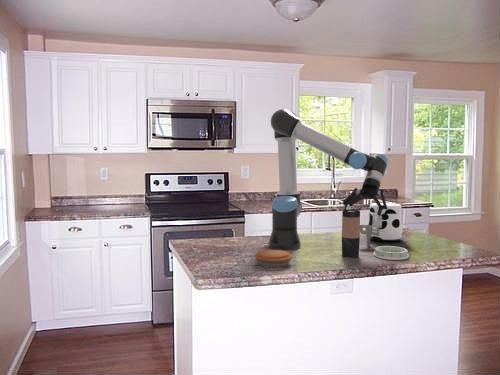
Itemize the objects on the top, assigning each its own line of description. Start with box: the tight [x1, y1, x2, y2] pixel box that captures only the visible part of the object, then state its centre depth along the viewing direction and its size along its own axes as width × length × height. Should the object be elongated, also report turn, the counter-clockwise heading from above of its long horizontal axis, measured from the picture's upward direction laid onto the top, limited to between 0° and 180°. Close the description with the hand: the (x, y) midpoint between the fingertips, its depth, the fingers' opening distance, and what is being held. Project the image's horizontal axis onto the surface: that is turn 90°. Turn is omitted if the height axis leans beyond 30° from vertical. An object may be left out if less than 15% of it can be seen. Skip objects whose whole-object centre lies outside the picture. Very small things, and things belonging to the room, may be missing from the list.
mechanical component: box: [360, 224, 381, 248], centre depth 220 cm, size 3×10×10 cm, turn 79°
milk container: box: [367, 202, 404, 242], centre depth 234 cm, size 17×17×18 cm
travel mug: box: [341, 208, 361, 259], centre depth 200 cm, size 8×8×20 cm
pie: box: [254, 249, 294, 268], centre depth 189 cm, size 15×16×5 cm
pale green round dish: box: [372, 245, 410, 261], centre depth 202 cm, size 15×15×3 cm
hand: (359, 219), depth 204 cm, fingers open, 13 cm apart
